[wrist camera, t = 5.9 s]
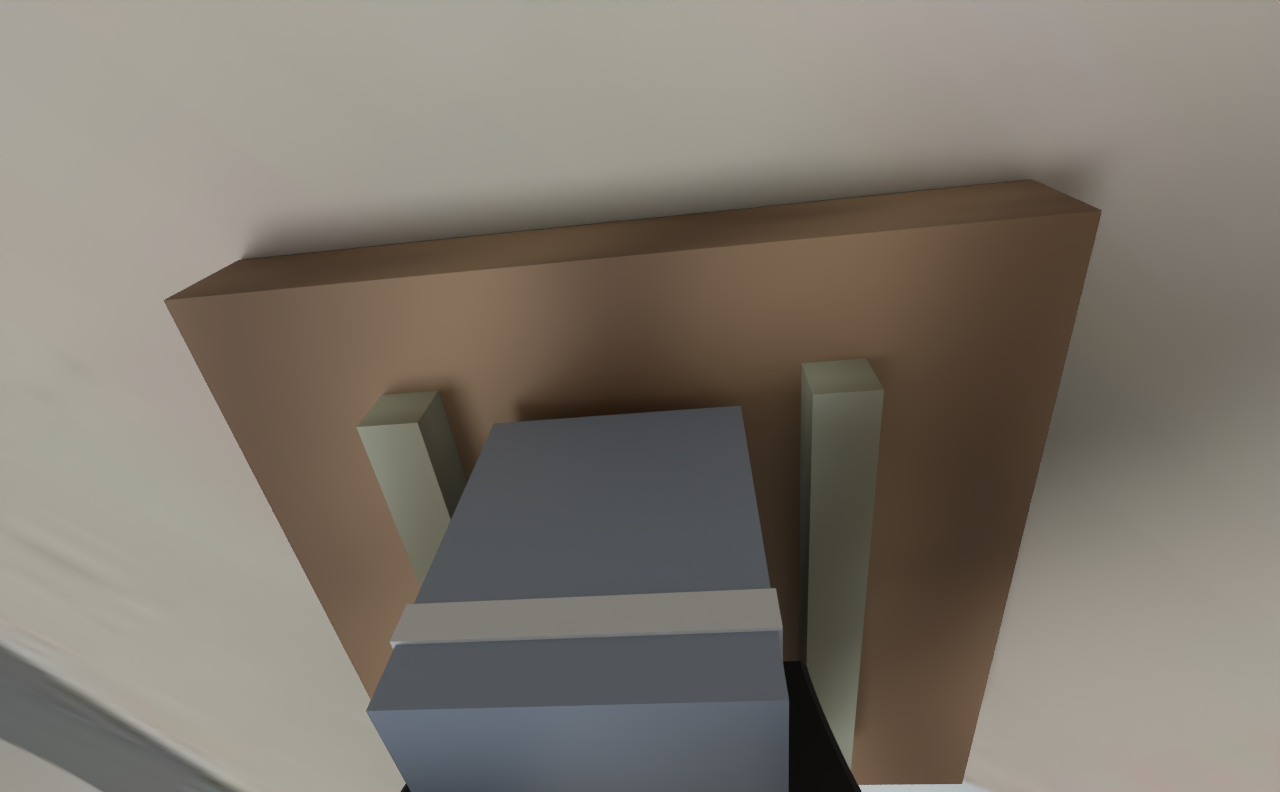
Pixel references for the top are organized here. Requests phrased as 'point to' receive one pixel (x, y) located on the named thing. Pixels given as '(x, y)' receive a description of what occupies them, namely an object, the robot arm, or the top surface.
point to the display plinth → (691, 379)
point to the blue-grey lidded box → (595, 619)
